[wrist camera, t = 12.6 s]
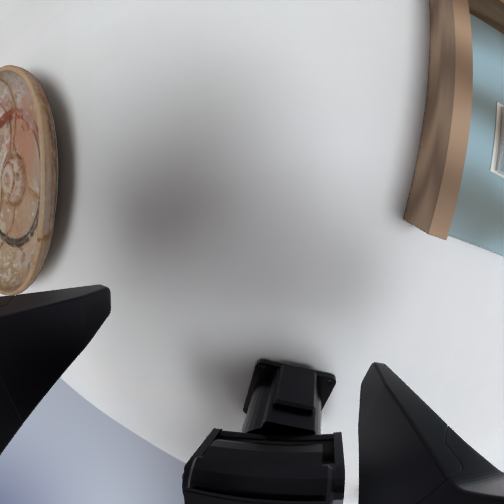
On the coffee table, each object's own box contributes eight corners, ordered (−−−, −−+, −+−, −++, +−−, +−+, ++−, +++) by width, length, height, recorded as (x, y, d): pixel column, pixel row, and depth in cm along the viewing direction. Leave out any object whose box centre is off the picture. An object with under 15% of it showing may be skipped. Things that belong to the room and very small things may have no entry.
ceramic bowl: (-31, 185, 25) (-55, 191, 20) (35, 39, 18) (4, 31, 13) (35, 316, 27) (8, 333, 22) (129, 169, 20) (85, 173, 15)
